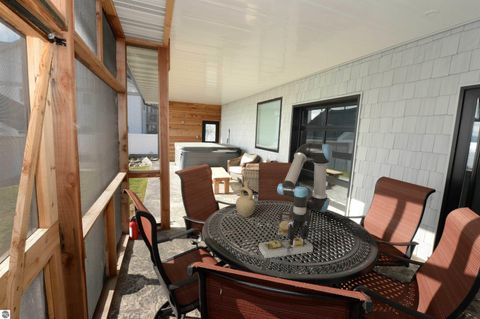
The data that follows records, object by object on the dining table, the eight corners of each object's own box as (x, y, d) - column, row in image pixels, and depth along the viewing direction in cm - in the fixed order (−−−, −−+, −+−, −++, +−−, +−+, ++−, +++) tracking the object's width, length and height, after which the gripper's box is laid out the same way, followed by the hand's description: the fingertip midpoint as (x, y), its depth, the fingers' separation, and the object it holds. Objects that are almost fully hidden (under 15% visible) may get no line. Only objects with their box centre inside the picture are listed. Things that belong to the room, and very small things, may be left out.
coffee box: (277, 234, 158) (279, 212, 156) (279, 231, 164) (280, 209, 162) (290, 237, 155) (292, 214, 153) (292, 233, 161) (293, 211, 159)
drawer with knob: (276, 249, 138) (277, 239, 138) (280, 253, 134) (280, 243, 133) (268, 250, 137) (269, 240, 136) (272, 254, 132) (272, 244, 131)
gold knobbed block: (298, 246, 143) (298, 237, 142) (302, 251, 138) (303, 241, 137) (290, 247, 141) (291, 238, 140) (295, 251, 136) (295, 241, 136)
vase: (231, 215, 191) (232, 180, 187) (245, 210, 202) (247, 178, 198) (244, 221, 179) (246, 184, 175) (259, 216, 190) (261, 181, 186)
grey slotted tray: (303, 243, 147) (303, 237, 146) (312, 251, 137) (313, 245, 137) (258, 249, 138) (259, 243, 137) (265, 258, 128) (265, 251, 128)
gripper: (308, 209, 143) (305, 244, 146) (282, 211, 138) (280, 247, 141) (316, 213, 136) (312, 250, 139) (289, 215, 130) (286, 253, 133)
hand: (296, 248), depth 140 cm, fingers open, 5 cm apart
